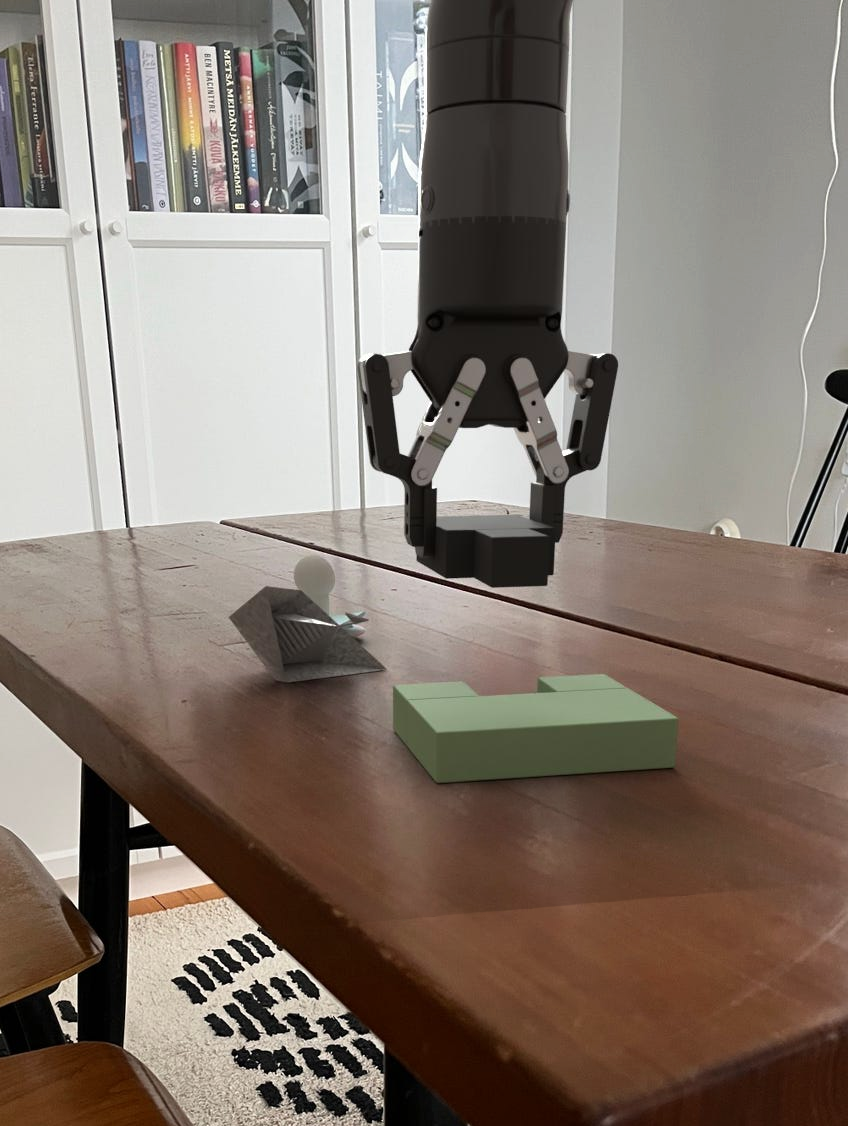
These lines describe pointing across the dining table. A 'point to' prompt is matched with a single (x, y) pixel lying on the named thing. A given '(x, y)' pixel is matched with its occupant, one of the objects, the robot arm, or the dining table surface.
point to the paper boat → (300, 637)
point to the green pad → (533, 729)
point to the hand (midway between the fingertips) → (482, 553)
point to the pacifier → (322, 588)
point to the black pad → (493, 550)
